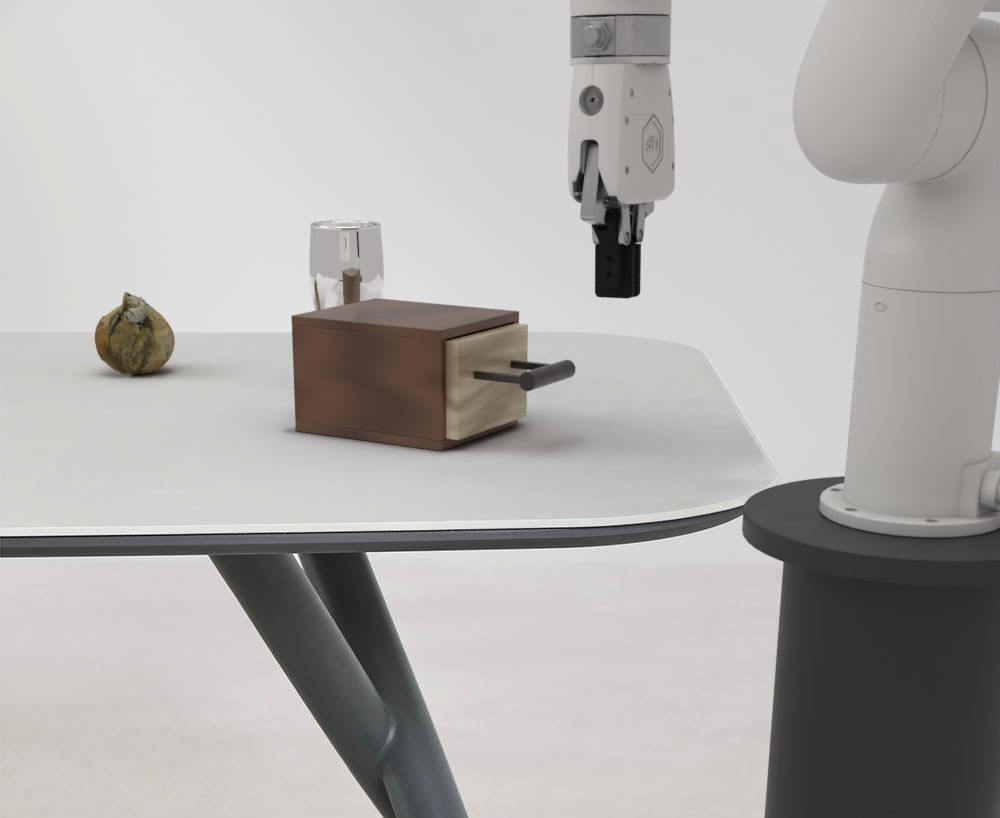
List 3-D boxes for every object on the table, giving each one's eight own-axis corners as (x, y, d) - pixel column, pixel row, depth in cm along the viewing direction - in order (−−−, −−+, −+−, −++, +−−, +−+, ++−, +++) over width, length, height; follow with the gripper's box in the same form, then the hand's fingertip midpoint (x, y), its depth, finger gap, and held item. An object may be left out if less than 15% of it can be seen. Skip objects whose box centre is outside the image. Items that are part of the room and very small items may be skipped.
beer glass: (324, 395, 160) (319, 228, 154) (304, 382, 166) (299, 221, 160) (395, 390, 162) (393, 226, 157) (373, 378, 168) (370, 219, 163)
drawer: (586, 423, 145) (589, 329, 142) (520, 448, 135) (521, 348, 132) (395, 400, 153) (394, 311, 150) (321, 422, 144) (318, 328, 141)
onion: (194, 371, 171) (189, 289, 168) (132, 382, 165) (125, 297, 162) (144, 362, 175) (139, 282, 172) (82, 373, 170) (74, 290, 166)
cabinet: (518, 424, 149) (519, 311, 145) (441, 451, 138) (441, 330, 135) (377, 406, 155) (375, 298, 152) (295, 431, 145) (290, 315, 141)
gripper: (622, 41, 120) (619, 309, 127) (706, 44, 132) (699, 289, 139) (528, 44, 124) (530, 304, 130) (618, 47, 136) (616, 285, 142)
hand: (617, 296), depth 134 cm, fingers closed
